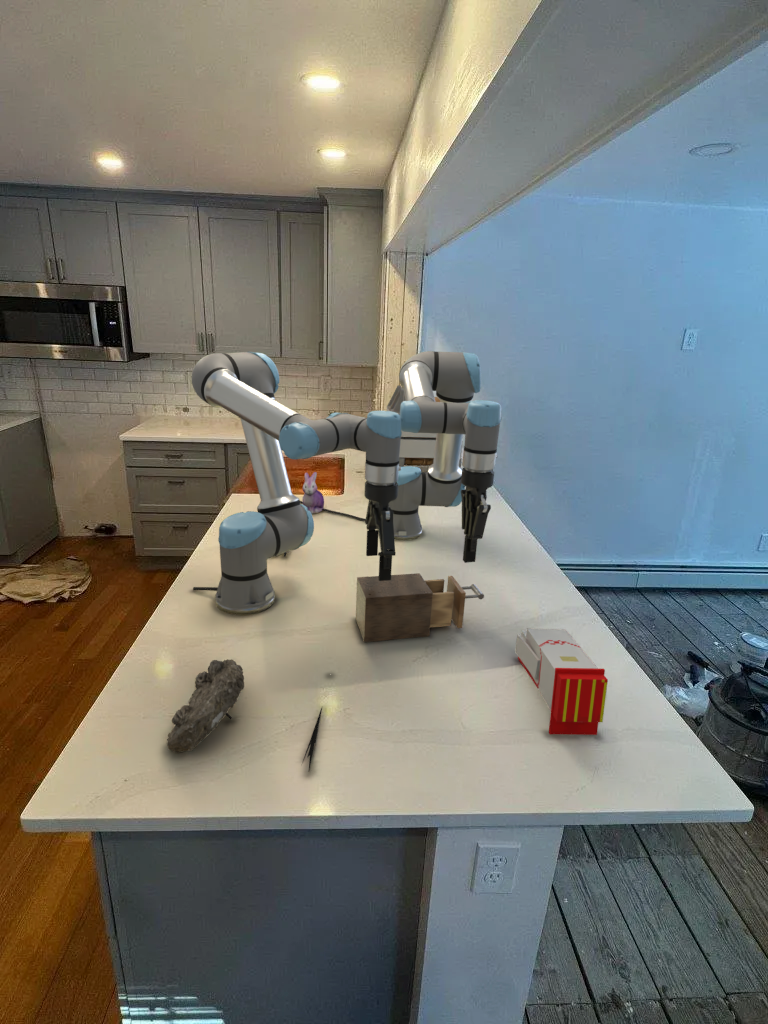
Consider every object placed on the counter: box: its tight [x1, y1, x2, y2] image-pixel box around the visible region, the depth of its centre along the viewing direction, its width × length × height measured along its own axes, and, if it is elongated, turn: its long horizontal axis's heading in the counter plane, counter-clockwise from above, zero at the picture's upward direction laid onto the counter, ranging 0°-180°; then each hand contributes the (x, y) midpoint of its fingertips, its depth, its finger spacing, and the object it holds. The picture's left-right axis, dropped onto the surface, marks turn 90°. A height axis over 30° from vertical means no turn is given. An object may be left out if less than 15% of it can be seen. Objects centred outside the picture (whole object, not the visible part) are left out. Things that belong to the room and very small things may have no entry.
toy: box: [514, 627, 609, 736], centre depth 119 cm, size 12×13×30 cm
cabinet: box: [355, 572, 433, 643], centre depth 139 cm, size 16×11×12 cm, turn 104°
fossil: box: [166, 658, 245, 754], centre depth 106 cm, size 22×10×15 cm
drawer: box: [424, 575, 485, 629], centre depth 142 cm, size 21×10×10 cm, turn 104°
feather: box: [301, 673, 332, 771], centre depth 108 cm, size 2×28×2 cm
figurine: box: [301, 471, 325, 515], centre depth 216 cm, size 9×10×15 cm
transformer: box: [386, 384, 464, 470], centre depth 268 cm, size 34×33×41 cm
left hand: (377, 567), depth 134 cm, fingers open, 13 cm apart
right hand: (468, 560), depth 140 cm, fingers closed
